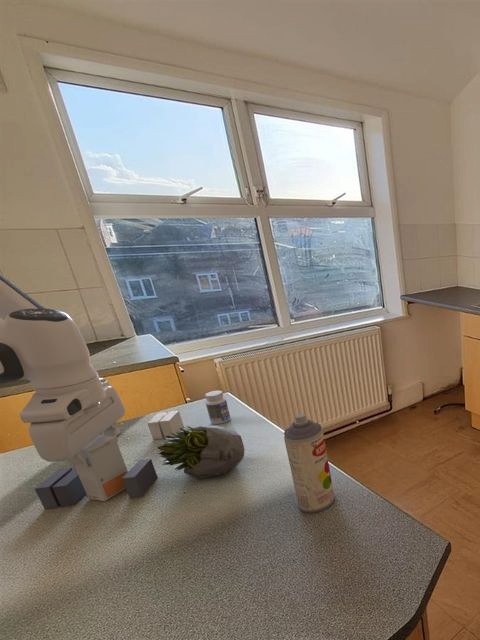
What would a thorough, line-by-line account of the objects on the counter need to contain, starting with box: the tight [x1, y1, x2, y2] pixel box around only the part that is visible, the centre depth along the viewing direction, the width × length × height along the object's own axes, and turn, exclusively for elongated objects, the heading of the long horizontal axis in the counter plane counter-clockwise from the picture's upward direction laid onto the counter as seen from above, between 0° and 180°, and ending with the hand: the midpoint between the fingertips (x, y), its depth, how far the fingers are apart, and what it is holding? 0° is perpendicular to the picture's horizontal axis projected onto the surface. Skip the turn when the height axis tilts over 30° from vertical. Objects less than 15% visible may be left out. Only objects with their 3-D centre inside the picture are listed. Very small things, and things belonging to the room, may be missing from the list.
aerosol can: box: [283, 413, 336, 514], centre depth 85 cm, size 7×7×20 cm
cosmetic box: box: [77, 435, 129, 502], centre depth 88 cm, size 6×4×12 cm
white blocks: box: [100, 410, 185, 441], centre depth 111 cm, size 17×6×5 cm, turn 105°
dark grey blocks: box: [34, 458, 159, 510], centre depth 89 cm, size 16×7×5 cm, turn 105°
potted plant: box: [156, 424, 245, 479], centre depth 95 cm, size 12×13×15 cm
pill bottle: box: [204, 390, 231, 425], centre depth 119 cm, size 5×5×8 cm
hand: (98, 456), depth 87 cm, fingers open, 8 cm apart
